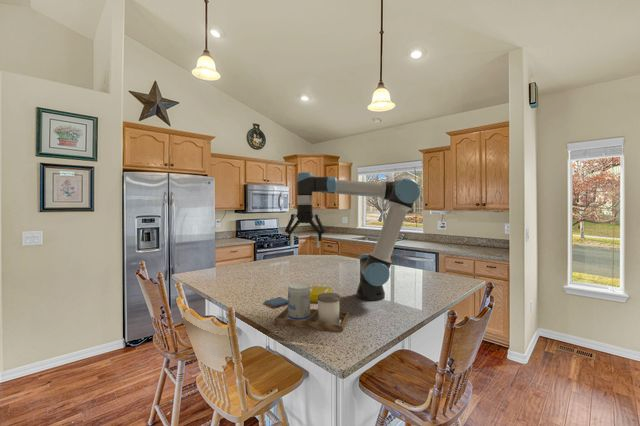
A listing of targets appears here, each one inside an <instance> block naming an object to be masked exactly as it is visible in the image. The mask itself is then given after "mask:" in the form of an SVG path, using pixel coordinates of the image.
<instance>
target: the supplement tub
mask: <svg viewBox="0 0 640 426" xmlns="http://www.w3.org/2000/svg"><path fill="white" fill-rule="evenodd" d="M310 286H311V285H310V284H309V283H306V282H293V283H290V284H289V285H288V287H287V300H288V305H287V307H288V314H287V316H288V319H292V320H301V321H308V320H309V318H310V317H311V314H310V309H311V302H310Z"/></svg>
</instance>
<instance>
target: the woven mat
mask: <svg viewBox="0 0 640 426" xmlns="http://www.w3.org/2000/svg"><path fill="white" fill-rule="evenodd" d="M263 304H264V305H266V306H269V307H271V308H272V309H278V308H281V307H285V306H288V299H286V298H283V297H282V296H281V297H280V296H279V297H275V298H272V299H271V298H270V299H267V300H264V302H263ZM273 307H274V308H273Z"/></svg>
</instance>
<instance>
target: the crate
mask: <svg viewBox="0 0 640 426" xmlns="http://www.w3.org/2000/svg"><path fill="white" fill-rule="evenodd" d="M340 318H343V320H341V319H340ZM349 318H350V312H348V311H339V324H328V323H319V322H318V308H317V309H316V308H310V318H309V320H308V321H301V320H292V319H288V306H287V307H286V308H285V309H283V310H282V311H281V312H280V313H279V314H278V315H277V316H276V317H275V318H274V326H275V327H276V326H277V325H283V326H291V327H298V328H299V327H300V328H306V329H307V328H309V329H316V330H324V331H325V330H326V331H335V332H343V331H344V329H345V327H346V325H347V323H348V320H349ZM315 319H316V320H315Z"/></svg>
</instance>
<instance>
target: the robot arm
mask: <svg viewBox="0 0 640 426" xmlns="http://www.w3.org/2000/svg"><path fill="white" fill-rule="evenodd" d="M313 193H321V194H334V195H348V196H360V197H373V198H380V199H382V200H385V201H387V202H388V205H389V207H388V210H387V212H386V216H385V219H384V221H383V224H382V227H381V230H380V233H379V235H378V238H377V240H376V242H375V243H376V244H375V246H374V249H373V251H372V252H370V253H362V254H360V255H359V258H358V259H359V260H358V261H359V283H358V285H357V288H356V292H355V293H356V294H355V295H356V297H357V298H358V299H361V300H365V301H380V300H381V301H382V300H383V299H385V297H386V293H385V289H384V286H383V285H385V284H386V283H387V282H388V281H389V279H390V275H391V274H390V273H391V271H390V268H391V265H392V263H393V261H392V260H391V256H392V254H393V251H394V248H395V246H396V243H397V240H398V237H399V235H400V232H401V230H402V226H403V224H404V221H405V218H406V215H407V212H410V211H411V210H412V208H413V207H414V206H413V205H414V203H415V202H416V201H417V200H418V199H419V198H420V195H421V188H420V185H419V183H417V181H415V180H414V179H411V178H401V179H399V180H394V181H383V182H371V181H357V180H343V179H337V177H336V176H329V175H328V176H313V173H312V172H307V171H306V172H305V171H304V172H303V171H302V172H299V173H297V176H296V194H297V195H296V203H297V205H296V208H297V209H296V213H291V214H290V219H289V220H288V223H287V225H286V228H285V230H284V232H285V233H287V235H288V241H290V242H289V243H290V244H289V245H290V248H293V247H294V245H295V243H294V239H295V237H294V236H295V235H294V234H295V233H294V231H295V230H296V229H297V227H298V226H299V225H300V224H310V225H311V227H312V228H313V229H314V231H315V232H316V233H317V234H316V249H319V248H320V247H321V245H320V244H321V241H322V238H323V237H322V235H323V234H325V233H326V229H325V227H324V225H323V223H322V222H321V220H320V219H321V218H320V215H319V214H318V213H316V214H314V213H313ZM296 218H297V220H296V221H295V219H296ZM313 218H314V219H315V222H316V223H317V225H316V223H315V222H314V221H313ZM294 221H295V223H294Z"/></svg>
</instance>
